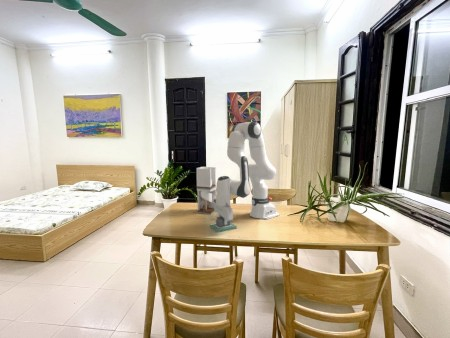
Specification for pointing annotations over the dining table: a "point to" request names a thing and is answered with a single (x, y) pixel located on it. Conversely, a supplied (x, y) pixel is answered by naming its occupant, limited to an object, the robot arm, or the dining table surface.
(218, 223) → the block
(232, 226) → the header board
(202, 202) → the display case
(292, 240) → the dining table surface
